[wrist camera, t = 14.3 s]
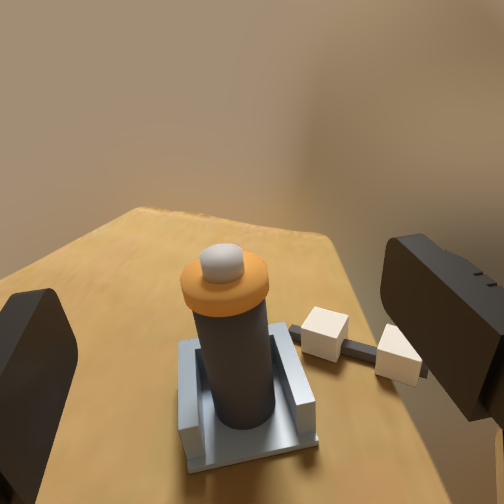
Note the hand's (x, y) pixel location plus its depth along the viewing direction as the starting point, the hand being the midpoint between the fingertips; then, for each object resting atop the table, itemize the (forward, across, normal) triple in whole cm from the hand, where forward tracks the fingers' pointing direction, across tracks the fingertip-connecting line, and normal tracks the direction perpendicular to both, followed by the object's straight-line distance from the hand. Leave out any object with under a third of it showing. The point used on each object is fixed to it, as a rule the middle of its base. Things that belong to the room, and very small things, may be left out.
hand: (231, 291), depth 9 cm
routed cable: (+13, -7, +18) cm, 23 cm away
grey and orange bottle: (+10, -1, +18) cm, 20 cm away
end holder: (+10, -1, +18) cm, 21 cm away
